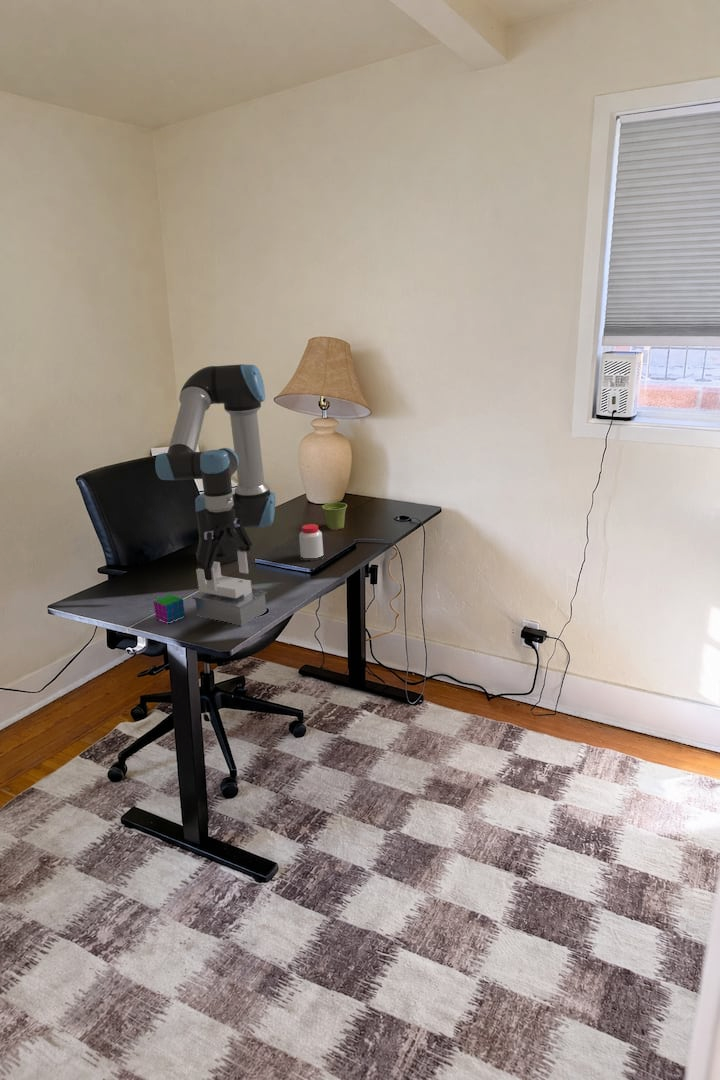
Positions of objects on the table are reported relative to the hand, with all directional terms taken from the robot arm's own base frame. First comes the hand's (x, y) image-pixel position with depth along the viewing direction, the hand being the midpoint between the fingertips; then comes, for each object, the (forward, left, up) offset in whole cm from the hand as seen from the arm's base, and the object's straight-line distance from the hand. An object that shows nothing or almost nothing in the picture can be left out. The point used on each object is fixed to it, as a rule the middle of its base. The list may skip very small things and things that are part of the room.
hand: (228, 581), depth 204 cm
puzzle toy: (-14, -10, -10) cm, 20 cm away
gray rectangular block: (0, 0, -10) cm, 10 cm away
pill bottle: (-5, +48, -10) cm, 49 cm away
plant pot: (-15, +79, -10) cm, 81 cm away
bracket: (-1, 0, -4) cm, 4 cm away
